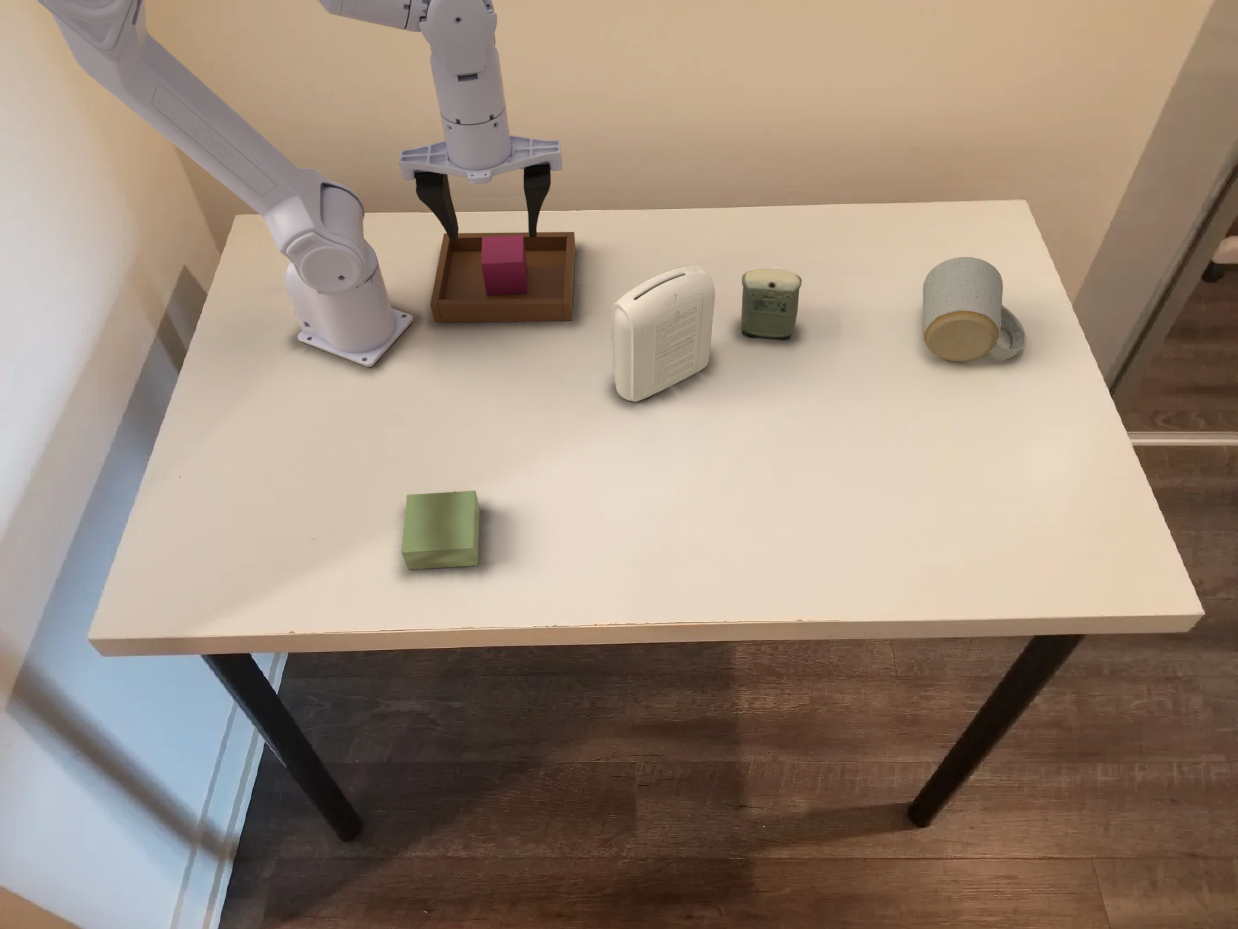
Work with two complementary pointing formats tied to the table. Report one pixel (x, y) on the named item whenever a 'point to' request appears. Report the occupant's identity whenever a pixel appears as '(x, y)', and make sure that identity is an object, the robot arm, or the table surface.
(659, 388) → the photo printer
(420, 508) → the base slab
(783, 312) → the grey-green labelled box
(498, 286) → the pink block
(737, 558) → the table surface
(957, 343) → the ceramic mug
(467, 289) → the tray
